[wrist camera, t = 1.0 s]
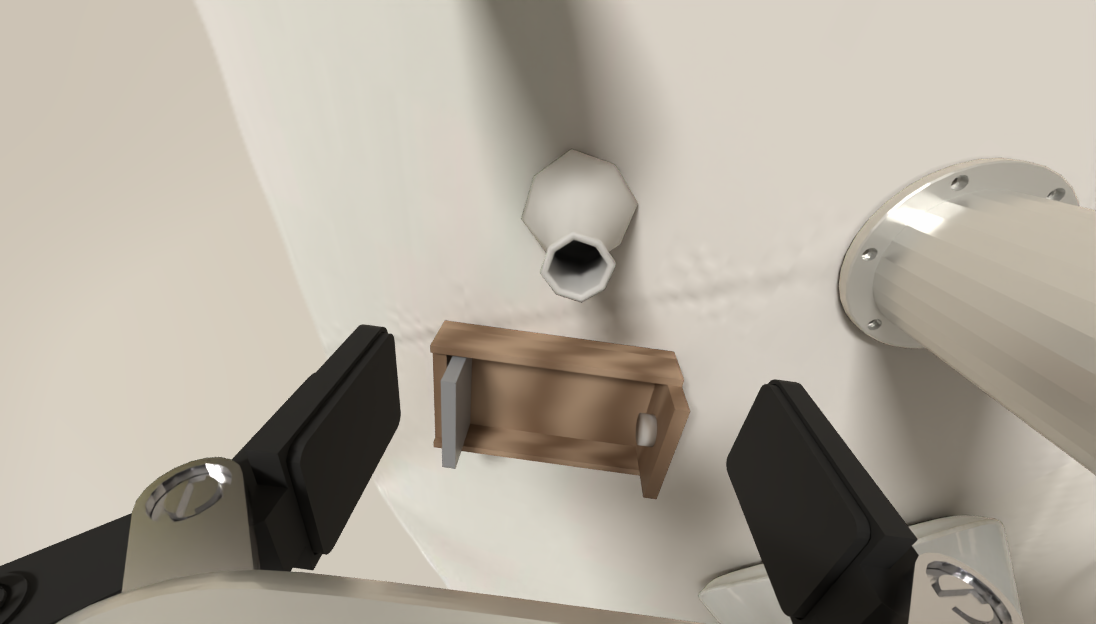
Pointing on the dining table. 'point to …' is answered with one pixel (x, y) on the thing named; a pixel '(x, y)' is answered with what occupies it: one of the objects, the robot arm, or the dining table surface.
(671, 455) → the wooden tray
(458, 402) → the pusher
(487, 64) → the dining table surface
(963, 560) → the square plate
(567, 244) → the flask
